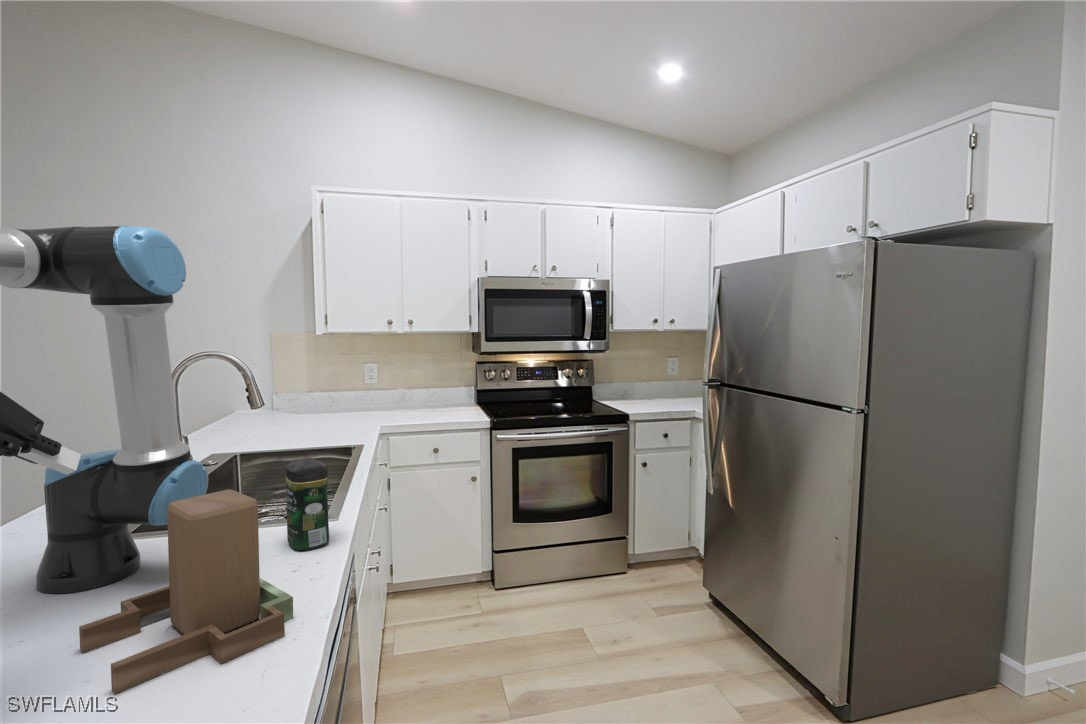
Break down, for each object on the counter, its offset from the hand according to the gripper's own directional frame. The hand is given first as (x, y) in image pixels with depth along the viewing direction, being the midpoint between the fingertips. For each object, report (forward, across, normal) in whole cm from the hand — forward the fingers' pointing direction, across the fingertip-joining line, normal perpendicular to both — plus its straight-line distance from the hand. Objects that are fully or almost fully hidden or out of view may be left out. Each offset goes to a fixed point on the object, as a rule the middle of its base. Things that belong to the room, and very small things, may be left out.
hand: (73, 464), depth 75 cm
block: (+28, 0, -17) cm, 33 cm away
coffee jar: (+52, 0, +4) cm, 52 cm away
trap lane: (+24, -2, -19) cm, 31 cm away
